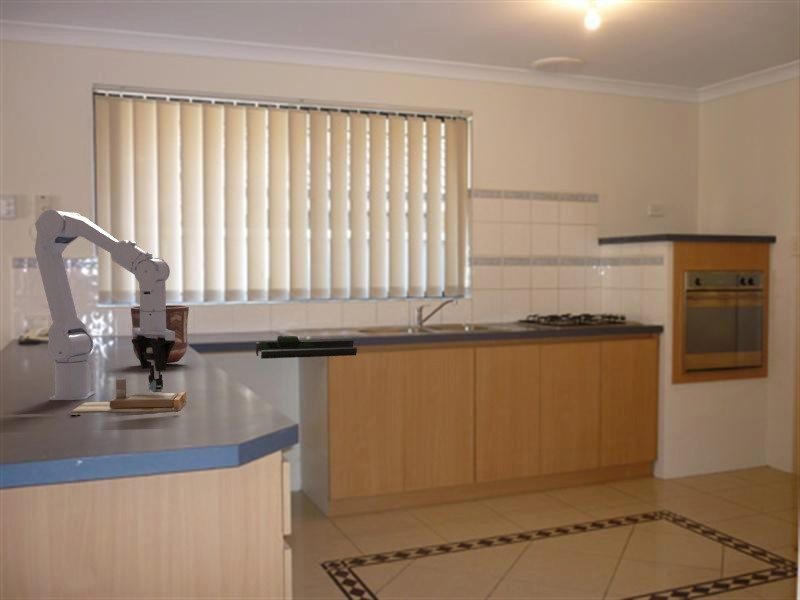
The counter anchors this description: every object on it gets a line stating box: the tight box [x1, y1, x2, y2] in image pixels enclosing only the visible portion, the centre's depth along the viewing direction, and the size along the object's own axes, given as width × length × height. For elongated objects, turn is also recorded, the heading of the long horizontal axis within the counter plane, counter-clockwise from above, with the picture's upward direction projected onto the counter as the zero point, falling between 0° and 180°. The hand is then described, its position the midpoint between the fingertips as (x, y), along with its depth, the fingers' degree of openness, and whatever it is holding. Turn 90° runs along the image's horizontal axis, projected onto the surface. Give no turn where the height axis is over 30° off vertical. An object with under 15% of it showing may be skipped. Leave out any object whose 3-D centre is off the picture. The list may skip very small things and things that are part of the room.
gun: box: [255, 335, 361, 360], centre depth 270 cm, size 6×35×8 cm, turn 108°
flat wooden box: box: [70, 391, 187, 414], centre depth 172 cm, size 11×22×3 cm, turn 97°
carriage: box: [109, 378, 179, 408], centre depth 172 cm, size 8×13×6 cm, turn 97°
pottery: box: [130, 304, 190, 364], centre depth 256 cm, size 18×18×18 cm
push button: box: [143, 347, 164, 393], centre depth 182 cm, size 7×5×10 cm
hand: (153, 369), depth 182 cm, fingers closed on push button, 5 cm apart
